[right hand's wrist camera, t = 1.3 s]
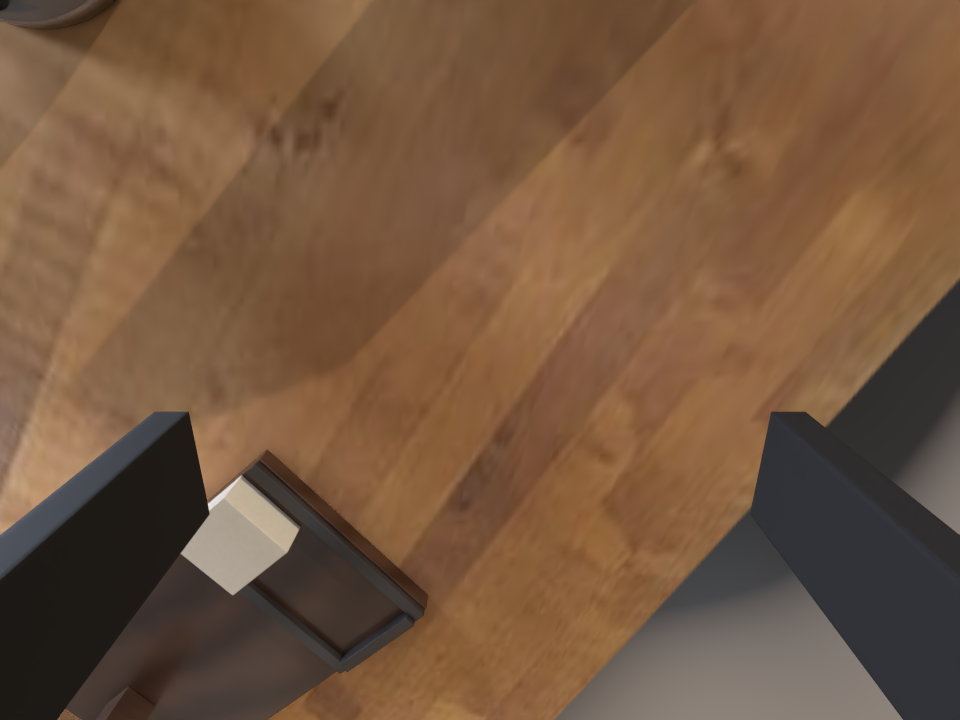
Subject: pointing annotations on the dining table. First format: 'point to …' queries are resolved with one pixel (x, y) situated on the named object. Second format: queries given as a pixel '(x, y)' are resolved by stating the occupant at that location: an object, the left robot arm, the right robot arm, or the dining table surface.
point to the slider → (240, 536)
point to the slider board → (255, 623)
